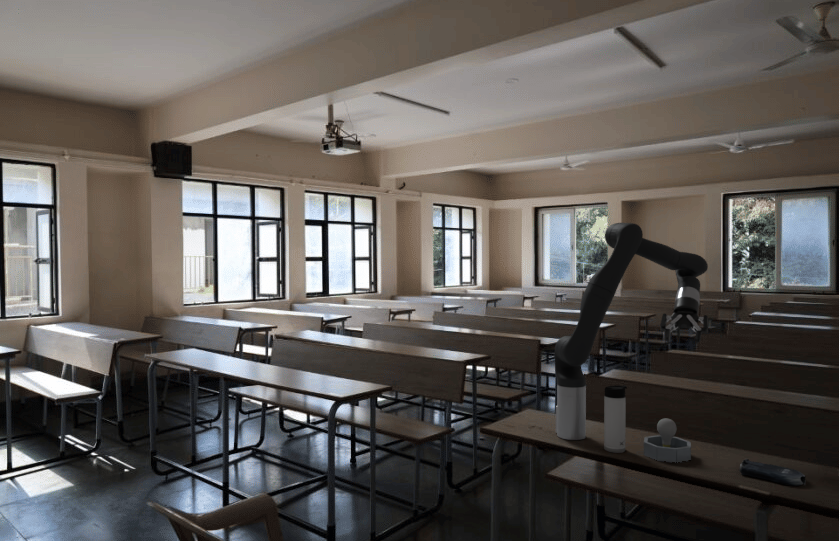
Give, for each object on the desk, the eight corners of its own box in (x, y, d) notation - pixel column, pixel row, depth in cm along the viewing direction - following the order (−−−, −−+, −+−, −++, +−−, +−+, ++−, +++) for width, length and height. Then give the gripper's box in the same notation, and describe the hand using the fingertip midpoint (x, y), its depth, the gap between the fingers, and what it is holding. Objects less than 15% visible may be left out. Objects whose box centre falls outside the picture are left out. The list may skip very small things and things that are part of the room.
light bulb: (659, 447, 187) (659, 415, 186) (678, 450, 183) (678, 418, 183) (654, 452, 182) (655, 419, 182) (673, 455, 179) (674, 422, 179)
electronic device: (739, 482, 165) (802, 488, 155) (736, 461, 166) (800, 465, 156) (747, 478, 172) (809, 483, 162) (745, 457, 173) (806, 461, 163)
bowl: (634, 451, 186) (634, 438, 186) (667, 446, 191) (667, 433, 191) (666, 464, 174) (666, 450, 174) (700, 459, 179) (700, 445, 179)
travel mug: (627, 453, 184) (628, 388, 184) (605, 452, 185) (605, 387, 185) (625, 447, 190) (625, 383, 190) (603, 446, 191) (603, 383, 191)
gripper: (663, 295, 205) (657, 332, 196) (709, 296, 198) (705, 335, 189) (665, 309, 210) (659, 347, 200) (711, 311, 203) (707, 350, 193)
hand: (682, 341), depth 194 cm, fingers open, 8 cm apart
